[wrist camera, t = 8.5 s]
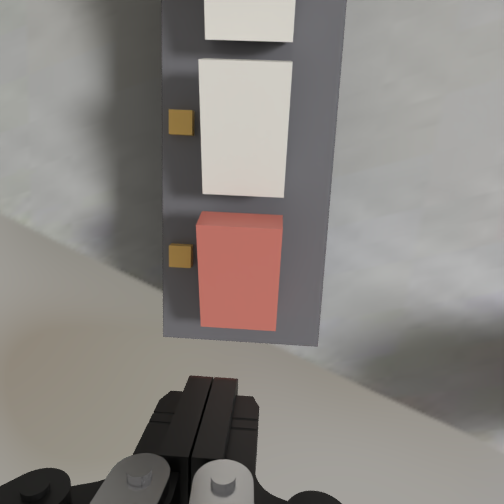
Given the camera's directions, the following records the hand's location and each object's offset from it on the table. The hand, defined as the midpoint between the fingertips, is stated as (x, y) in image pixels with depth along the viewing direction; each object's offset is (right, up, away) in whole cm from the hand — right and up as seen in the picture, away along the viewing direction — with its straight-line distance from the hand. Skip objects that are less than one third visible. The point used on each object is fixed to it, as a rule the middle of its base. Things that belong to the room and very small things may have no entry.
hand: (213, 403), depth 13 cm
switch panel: (+1, +12, +12) cm, 17 cm away
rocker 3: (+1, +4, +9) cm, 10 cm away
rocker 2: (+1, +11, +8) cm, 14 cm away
